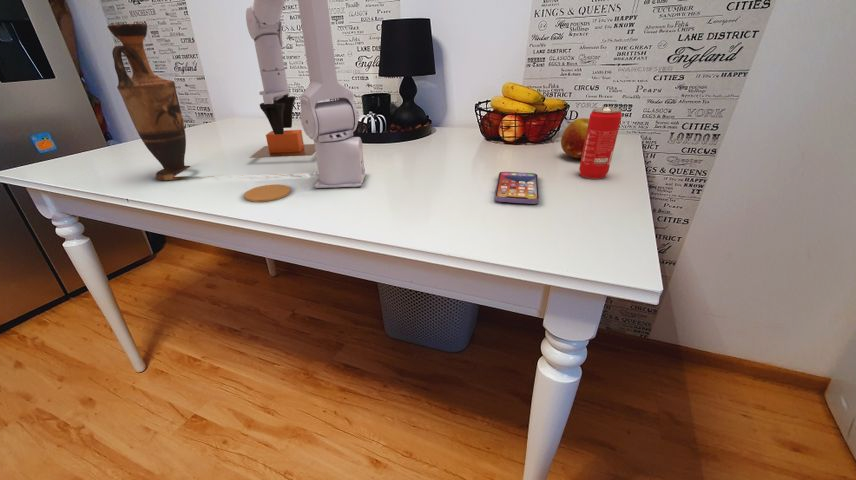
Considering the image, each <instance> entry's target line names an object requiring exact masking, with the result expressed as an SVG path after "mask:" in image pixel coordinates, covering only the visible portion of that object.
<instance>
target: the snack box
mask: <svg viewBox="0 0 856 480" xmlns="http://www.w3.org/2000/svg"><path fill="white" fill-rule="evenodd" d="M265 138H266V143H267V146H268V148H269V153H284V152H300V151H301V150H302V149H303V148H304V144H305V143H304V138H303V132H302V129H289V130H288V129H286V130H285V129H284V133H283V134H274V132H273V130H271V131H269V132H268V133H266V134H265Z"/></svg>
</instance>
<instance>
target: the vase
mask: <svg viewBox="0 0 856 480" xmlns="http://www.w3.org/2000/svg"><path fill="white" fill-rule="evenodd" d="M106 27H107V28H108V30H109V31H110V33H111V34H112V35H113V36H114V37H115V38H116V39H117V40H119V41H120V43H121V44H122V45H116V46H114V47H113V48H112V51H111V55H112V59H113V65H114V69H115V73H116V76H117V82H118V83H117V86H116V88H117V90H118V92H119V95H120V96H121V98H122V101H123V103H124V106H125V108H126V110H127V112H128V115H129V117H130V119H131V121H132V124H133V126H134V129H135V130H136V132H137V134H138V135H139V138H140V139H141V141H142V143H143V144H144V146H145V147H146V148H147V150H148V151H149V152H150V154H152V156H153V157H154V158H155V159H156V161H158V163H160V165H161V167H162V168H161V169H159V170H158V171H157V172H156V173H155V177H156V179H157V180H159V181H173V180H175V181H176V180H180V179H184V178H188V177H189V176H188V175H182V176H177V175H179V174H181V173H183V172H184V171H186V170H188V169H189V168H191V167H192V165H185V157H186V150H187V137H186V128H185V123H184V118H183V114H182V109H181V106H180V101H179V98H178V94H177V88H176V83H175V81H174V80H171V79H170V80H169V79H164V78H162V77H159V76H158V75H156V74H155V73H154V72H153V70H152V68H151V65H150V63H149V60H148V57H147V54H146V51H145V47H144V39H145V38H146V37H147V35H148V34H147V33H148V24H147V23H120V24H109V25H106ZM122 54H123V55H124V56H125V58H126V60H127V62H128V64H129V66H130V68H131V70H132V75H131V77H130V76H129V74H128V73H127V71H126V68H125V65H124V61H123V57H122Z"/></svg>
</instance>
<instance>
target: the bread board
mask: <svg viewBox="0 0 856 480" xmlns="http://www.w3.org/2000/svg"><path fill="white" fill-rule="evenodd" d="M314 154H316V152H315V145H314V143H308V144H307V143H306V144H305V143H304V148H303V149H302V150H301V151H300V152H284V153H269V148H268V145H264V146H262V147H261V148H260V149H258V150H257V151H255V153H253V154H252V155H251V156H249V159H253V158H254V159H255V158H257V159H258V158H279V157H282V158H283V157H305V156H313V155H314Z"/></svg>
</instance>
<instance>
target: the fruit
mask: <svg viewBox="0 0 856 480" xmlns="http://www.w3.org/2000/svg"><path fill="white" fill-rule="evenodd" d="M588 123H589V118H587V117H579V118H576V119H574V120H572V121H571V122H570V123H569V124H568V125H567V126H566V127H565V129H564V131H563V133H562V135H561V139H560V146H561V149H562V151H563V152H564V153H565V154H566V155H568V156H569V157H571V158H574V159H575V158H576V159H581V158H582V153H583V148H584V143H585V138H586V133H587V128H588Z"/></svg>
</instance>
